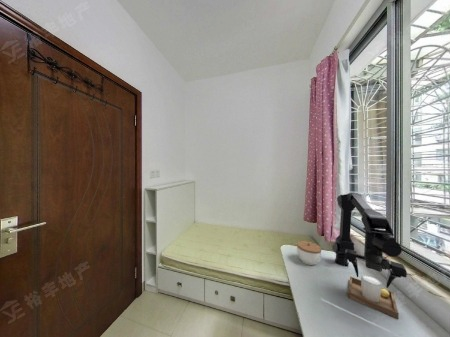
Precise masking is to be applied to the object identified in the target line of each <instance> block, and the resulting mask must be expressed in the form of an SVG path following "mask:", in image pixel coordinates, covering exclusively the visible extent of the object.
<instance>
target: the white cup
mask: <svg viewBox="0 0 450 337" xmlns="http://www.w3.org/2000/svg"><path fill="white" fill-rule="evenodd" d="M360 280H361V287H362V295H363V296H364V297H365V298H367V299H368V300H371V301H373V302H379V301H380V295H381V290H382V288H383V283H382V281H380V280H379V279H377V278H375V277H373V276H370V275H365V274H362V275H360Z"/></svg>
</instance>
